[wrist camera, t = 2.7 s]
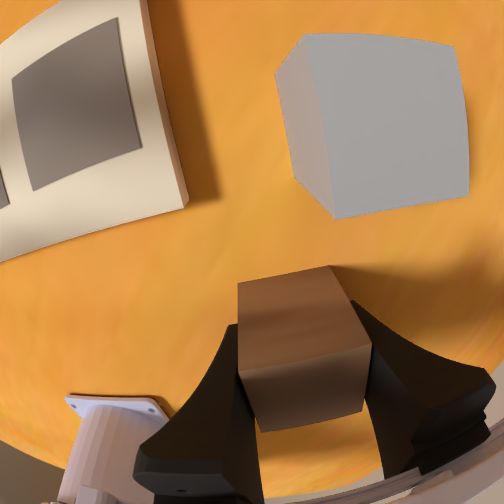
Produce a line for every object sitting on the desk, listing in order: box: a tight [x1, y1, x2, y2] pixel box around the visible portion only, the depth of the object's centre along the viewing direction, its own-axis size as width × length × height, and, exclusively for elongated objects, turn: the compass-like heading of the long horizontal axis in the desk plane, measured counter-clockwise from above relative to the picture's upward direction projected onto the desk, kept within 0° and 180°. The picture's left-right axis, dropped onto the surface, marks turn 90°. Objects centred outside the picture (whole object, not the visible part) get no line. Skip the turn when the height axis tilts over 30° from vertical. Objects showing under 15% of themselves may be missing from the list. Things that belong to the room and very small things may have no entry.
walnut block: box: [238, 265, 372, 433], centre depth 11 cm, size 4×4×5 cm
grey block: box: [274, 33, 469, 220], centre depth 7 cm, size 4×4×5 cm
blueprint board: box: [0, 0, 189, 262], centre depth 8 cm, size 10×14×1 cm
